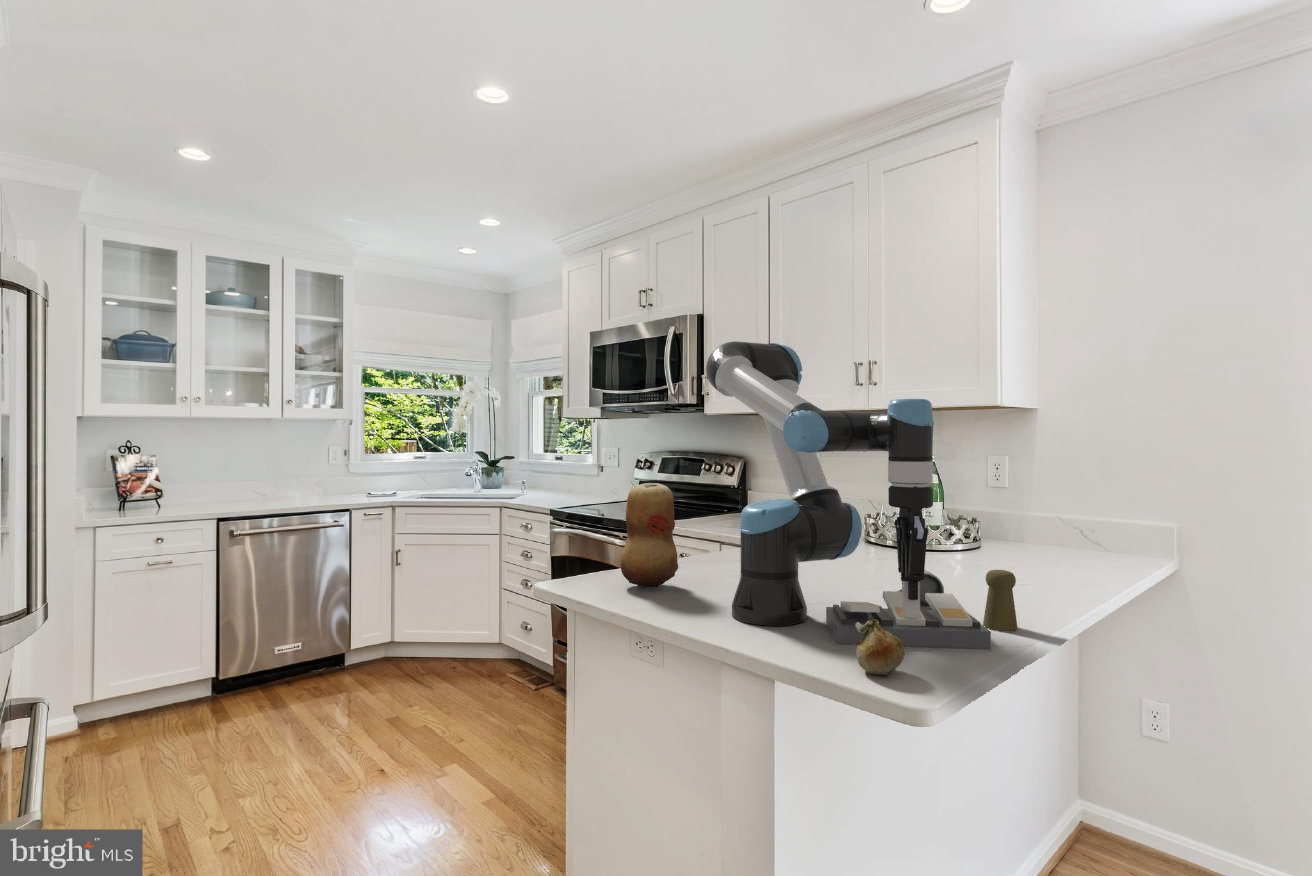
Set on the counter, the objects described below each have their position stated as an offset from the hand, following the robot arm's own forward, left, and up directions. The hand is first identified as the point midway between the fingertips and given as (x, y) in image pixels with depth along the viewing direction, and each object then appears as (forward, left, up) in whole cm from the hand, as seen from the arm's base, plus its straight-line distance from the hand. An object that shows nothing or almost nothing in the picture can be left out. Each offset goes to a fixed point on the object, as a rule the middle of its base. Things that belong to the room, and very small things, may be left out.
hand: (910, 616), depth 122 cm
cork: (+20, +11, -5) cm, 23 cm away
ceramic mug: (+8, +28, -5) cm, 29 cm away
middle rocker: (0, +4, 0) cm, 4 cm away
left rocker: (-8, +4, 0) cm, 9 cm away
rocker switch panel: (0, +4, -5) cm, 6 cm away
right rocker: (+8, +4, 0) cm, 9 cm away
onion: (-9, -17, -5) cm, 20 cm away
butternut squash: (-51, +37, -5) cm, 64 cm away
